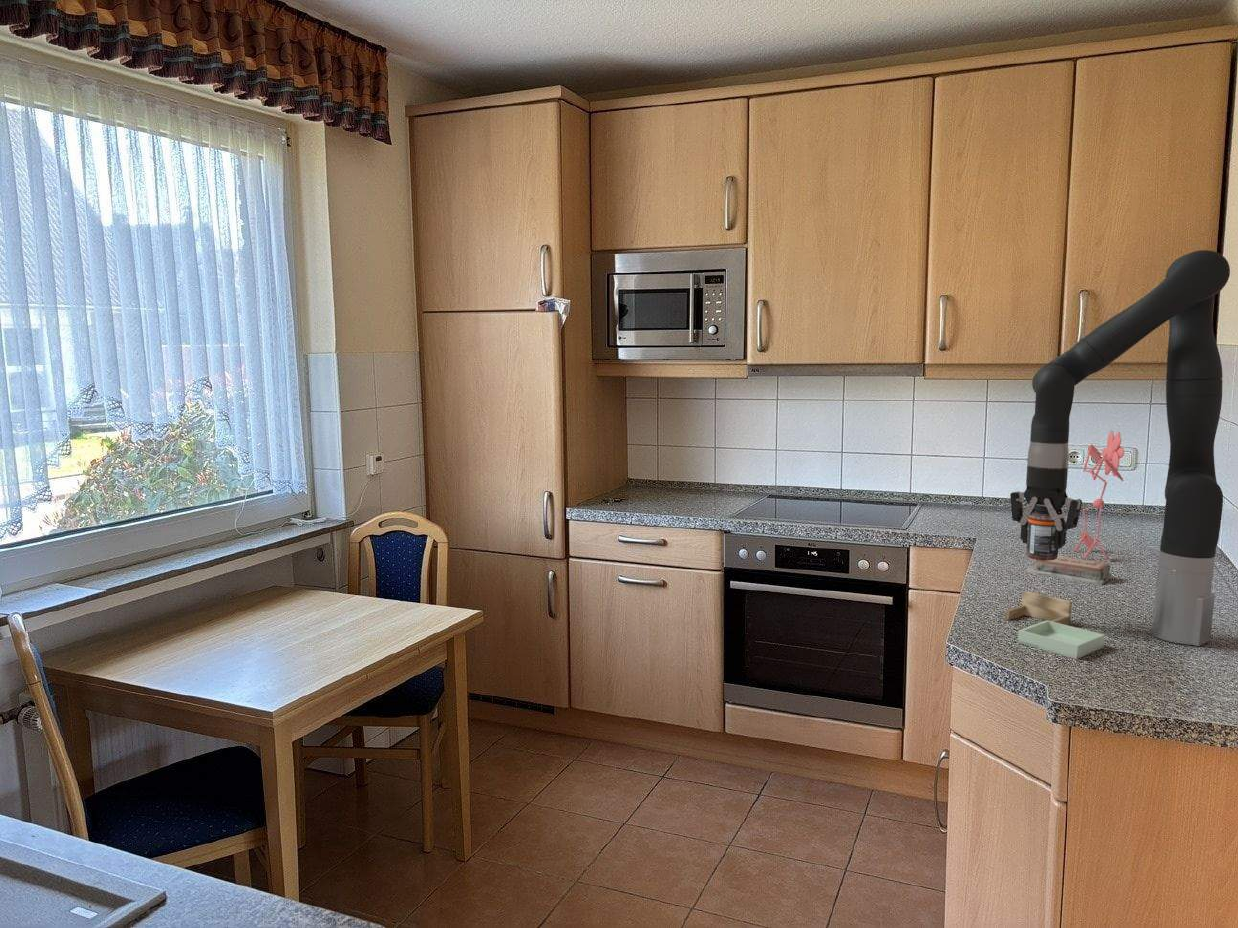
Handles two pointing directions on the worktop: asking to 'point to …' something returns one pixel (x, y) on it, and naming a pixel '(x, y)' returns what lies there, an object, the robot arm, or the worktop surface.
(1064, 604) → the wooden footstool
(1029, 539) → the supplement bottle
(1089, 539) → the figurine
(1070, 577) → the packaged product
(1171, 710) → the worktop surface
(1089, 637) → the sage tray
